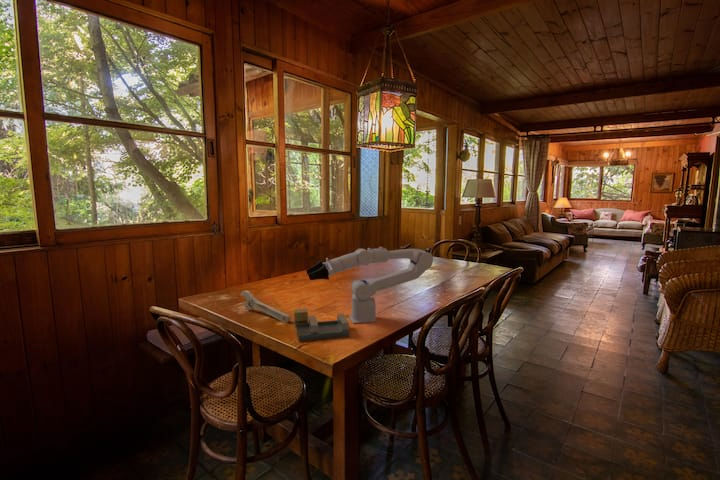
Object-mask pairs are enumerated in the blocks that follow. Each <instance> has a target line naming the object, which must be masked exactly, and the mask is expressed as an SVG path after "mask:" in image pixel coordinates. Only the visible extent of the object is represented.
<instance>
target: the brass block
mask: <svg viewBox="0 0 720 480" xmlns="http://www.w3.org/2000/svg"><path fill="white" fill-rule="evenodd" d="M308 311H309V310H308V308H306V307H305V308H295V309H293V324H294V328H295V329H296V323H308V316H309V312H308Z"/></svg>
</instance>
